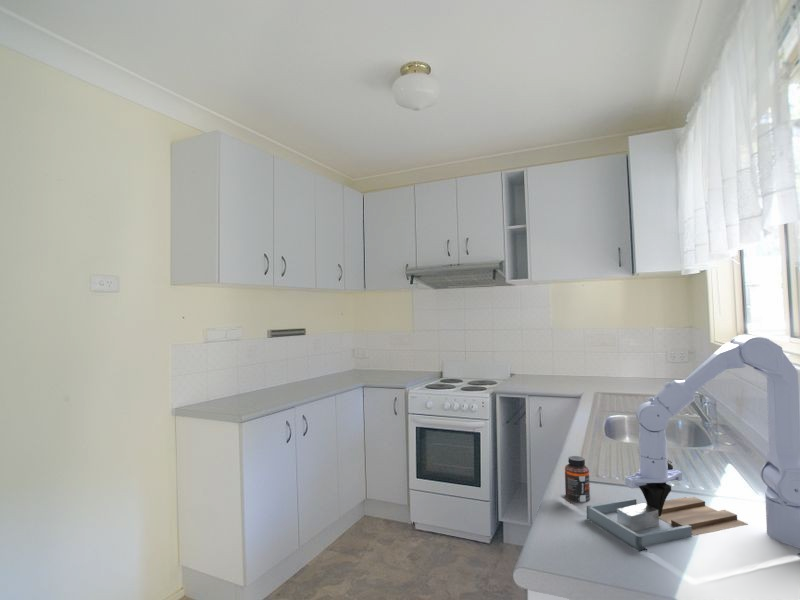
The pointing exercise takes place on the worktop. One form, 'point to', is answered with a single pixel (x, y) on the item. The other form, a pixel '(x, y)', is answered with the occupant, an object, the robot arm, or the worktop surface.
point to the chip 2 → (649, 514)
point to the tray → (627, 535)
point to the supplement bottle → (577, 480)
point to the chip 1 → (631, 518)
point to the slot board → (697, 516)
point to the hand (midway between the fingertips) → (655, 514)
